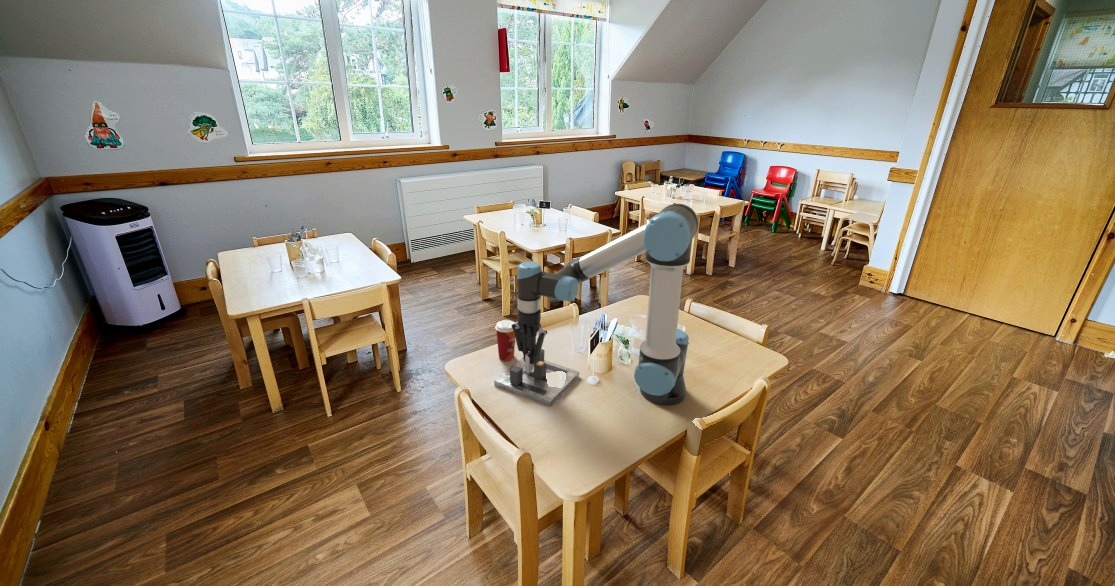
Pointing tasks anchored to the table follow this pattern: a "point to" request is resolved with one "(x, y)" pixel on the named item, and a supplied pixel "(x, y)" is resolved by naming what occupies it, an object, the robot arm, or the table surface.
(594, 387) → the table surface
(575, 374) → the panel
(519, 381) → the block
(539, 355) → the block
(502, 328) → the paper cup
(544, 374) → the block
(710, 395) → the table surface
